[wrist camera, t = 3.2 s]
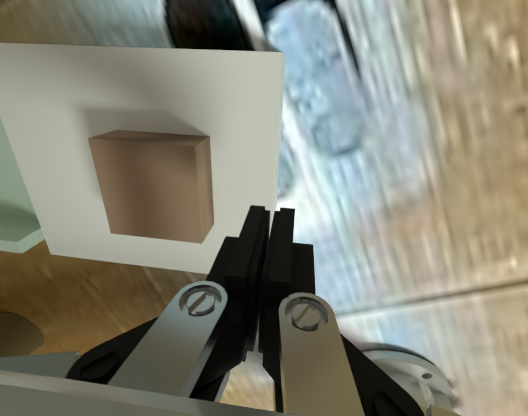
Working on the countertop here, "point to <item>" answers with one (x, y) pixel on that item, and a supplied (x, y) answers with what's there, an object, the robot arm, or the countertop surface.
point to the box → (15, 204)
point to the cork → (17, 336)
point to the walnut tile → (155, 184)
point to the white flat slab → (145, 120)
